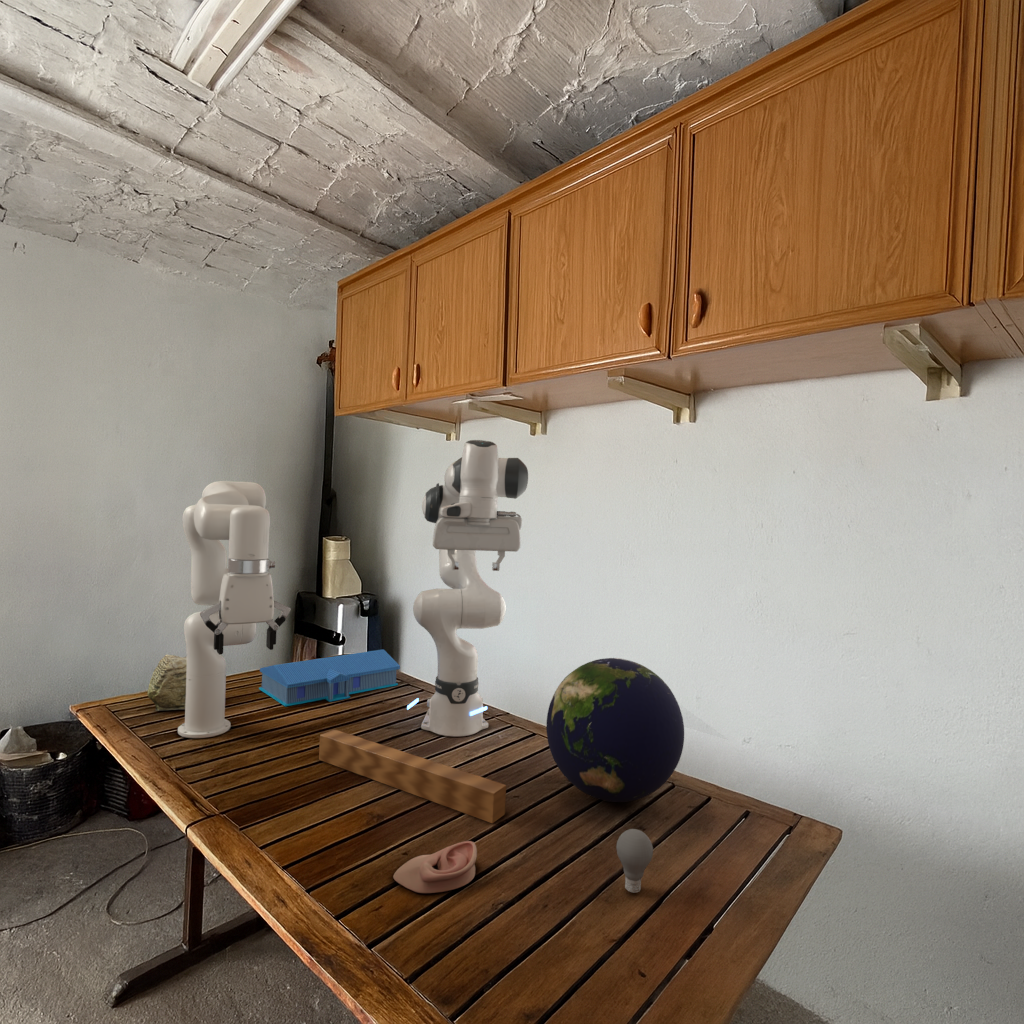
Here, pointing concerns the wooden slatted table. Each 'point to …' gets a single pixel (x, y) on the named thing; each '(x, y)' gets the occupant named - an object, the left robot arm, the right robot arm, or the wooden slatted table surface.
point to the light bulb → (634, 857)
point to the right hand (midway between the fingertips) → (475, 570)
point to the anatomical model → (439, 869)
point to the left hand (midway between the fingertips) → (245, 650)
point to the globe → (615, 730)
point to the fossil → (169, 683)
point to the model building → (329, 677)
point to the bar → (415, 775)
